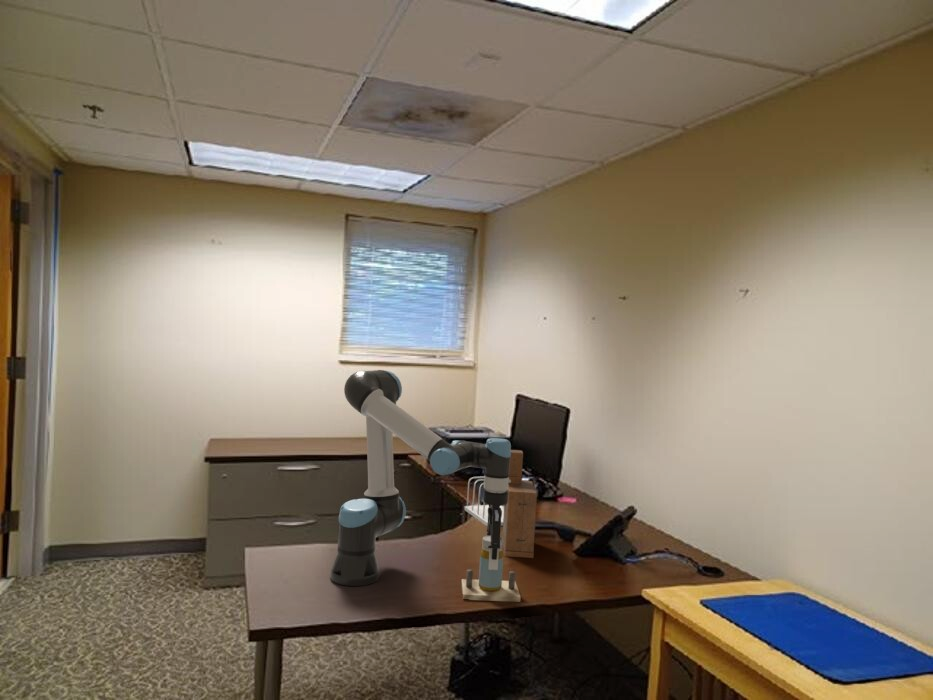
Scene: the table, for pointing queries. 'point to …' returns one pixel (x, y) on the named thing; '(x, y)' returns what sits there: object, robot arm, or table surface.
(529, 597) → the table surface
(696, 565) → the table surface
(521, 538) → the tan tall stacked block
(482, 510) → the file sorter
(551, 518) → the table surface
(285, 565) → the table surface
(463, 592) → the peg stand
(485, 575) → the bottle
